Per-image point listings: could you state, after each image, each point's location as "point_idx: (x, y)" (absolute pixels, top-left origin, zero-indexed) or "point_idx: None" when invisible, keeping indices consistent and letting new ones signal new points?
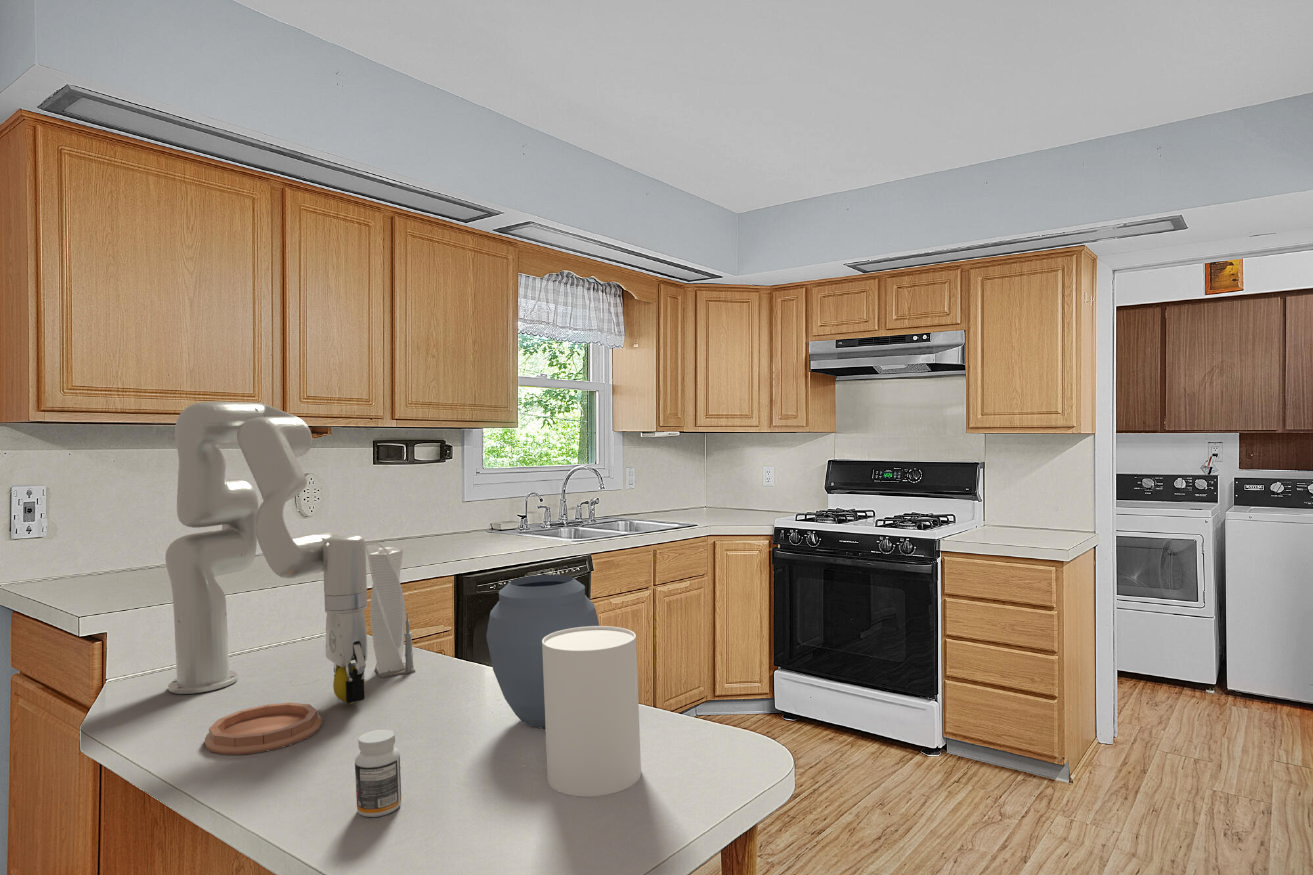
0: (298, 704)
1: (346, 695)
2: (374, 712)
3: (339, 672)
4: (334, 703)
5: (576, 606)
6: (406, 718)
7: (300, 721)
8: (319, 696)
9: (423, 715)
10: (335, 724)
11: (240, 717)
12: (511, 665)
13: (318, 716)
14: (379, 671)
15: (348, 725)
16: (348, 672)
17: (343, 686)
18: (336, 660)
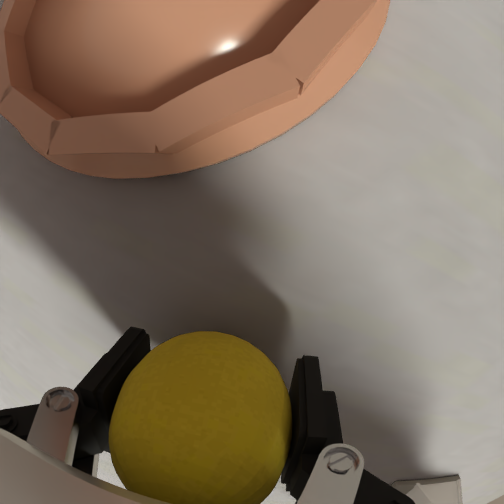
0: (215, 101)
1: (123, 344)
2: (80, 348)
3: (151, 442)
4: (305, 324)
5: None
6: (10, 354)
7: (3, 71)
8: (449, 319)
9: (15, 381)
10: (49, 206)
11: None
12: None
13: (93, 166)
14: (418, 488)
15: (22, 234)
16: (35, 425)
17: (132, 374)
18: (25, 484)
